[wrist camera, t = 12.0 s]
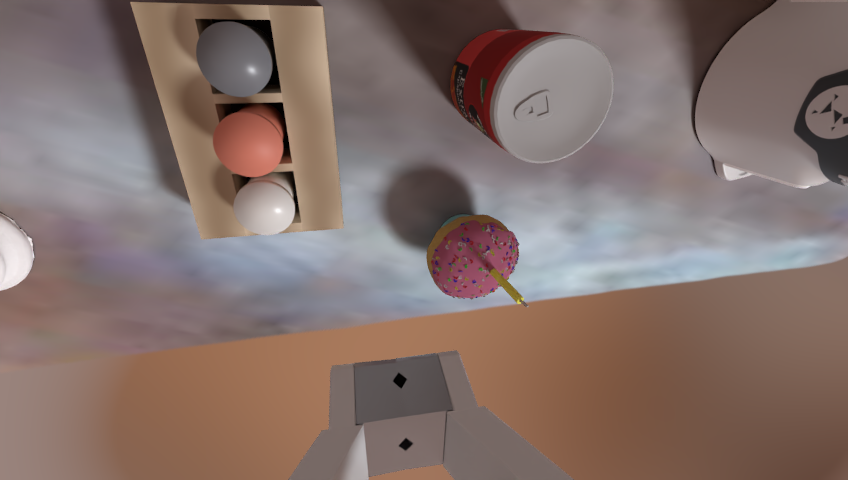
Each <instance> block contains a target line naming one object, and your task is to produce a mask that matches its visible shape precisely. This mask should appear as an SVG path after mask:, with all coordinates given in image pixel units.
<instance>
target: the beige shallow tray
mask: <svg viewBox="0 0 848 480" xmlns="http://www.w3.org/2000/svg"><path fill="white" fill-rule="evenodd" d="M130 3H131V7H132V10H133V13H134V17H135V20H136V23H137V27H138V30H139V33H140V37H141V40H142V43H143V47H144V50H145V53H146V56H147V60H148V63H149V66H150V70H151V73H152V76H153V80H154V83H155V86H156V90H157V93H158V96H159V100H160V103H161V106H162V110H163V113H164V116H165V120H166V123H167V126H168V130H169V133H170V136H171V140H172V143H173V146H174V150H175V153H176V156H177V160H178V163H179V166H180V170H181V173H182V176H183V180H184V183H185V186H186V190H187V193H188V196H189V200H190V203H191V206H192V210H193V213H194V216H195V220H196V223H197V226H198V230H199V233H200V236H201V239H212V238H225V237H238V236H251V235H261V234H256V233H253V232H251V231H249V230H247V229H246V228H245V227H243V226H242V225H241V224H240V223H239V221H238V220H237V218H236V216H235V213H234V209H233V205H234V200H235V197H236V195H237V194H238V192H239V190H240V189H241V188H242V187H243V186H244V185H246V184H248V183H247V179H246V176H242V175H239V174H236V173H234V172H233V171H231V170H229V169H228V168H227V167H225V166H224V165H223V164H222V162H221V161H220V160H219V158H218V157H217V155H216V153H215V150H214V147H213V134H214V131H215V129H216V127H217V125H218V124H219V123H220V122H221V121H222V120H223V119H224V118H225V117H226V116H228V115H230V114H232V110H231V105H230V103H271V102H283V106H284V113H285V119H286V126H287V132H288V139H289V145H290V148H286V149H283V154H282V157H281V160H280V162H279V164H278V165H277V167H276V168H275V169H274V170H273V171H271V172H284V171H294V178H295V184H296V191H297V197H298V203H295V214H294V218H293V221H292V223H291V224H290V225H289V227H287V228H286V229H285V230H284V231H282V232H280V233H289V232H302V231H315V230H328V229H341V228H343V211H342V199H341V189H340V178H339V167H338V157H337V146H336V136H335V125H334V114H333V104H332V93H331V82H330V72H329V61H328V50H327V40H326V29H325V18H324V8H323V7H322V6H280V5H237V4H193V3H150V2H130ZM212 19H244V20H270V21H271V28H272V34H273V41H274V47H275V54H276V60H277V67H278V73H279V80H280V85H266V86H265V87H264V88H263V89H262V90H261V91H259V92H258V93H256V94H254V95H251V96H247V97H235V96H231V95H227V94H225V93H223V92H221V91H219V90H218V89H216V88H215V87H214V86H212V85H211V84H210V83H209V82H208V81H207V79H206V78H205V77H204V75H203V74H202V72H201V70H200V68H199V65H198V62H197V57H196V46H197V42H198V39H199V37H200V35H201V34H202V32H203V31H204V30H205V29H206V28H208V27H209V26H211V25H212V24H213V22H212Z"/></svg>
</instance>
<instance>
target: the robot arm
mask: <svg viewBox="0 0 848 480" xmlns="http://www.w3.org/2000/svg"><path fill="white" fill-rule="evenodd" d="M695 127H696V132H697V136H698V138H699V141H700V143H701V144H702V146H703V147H704V148H705V149H706V150H707V151H708V152H709V153H710V155H711V156H712V157H713V159H714V163H715V168H716V172H717V175H718V176H719V177H720V178H722V179H726V180H735V179H739V178H743V177H746V176H750V175H757V176H760V177H764V178H767V179H770V180H773V181H777V182H780V183H783V184H787V185H790V186H793V187H797V188H808V187H809V186H815V185H820V184H823V183H825V182H827V181H832V182H835V183H838V184H841V185H844V186H847V187H848V0H777V1H776V2H775V3H774V4H773V5H772V6H771V7H769V8H768V9H766V10H765V11H764V12H762V13H761V14H759V15H758V16H756V17H755V18H753V19H752V20H750V21H749V22H748V23H747V24H745V25H744V26H743V27H742V28H741V29H740V30H739V31H738V32H737V33H736V34H735V35H734V36H733V37H732V38H731V39H730V40H729V41H728V42H727V44H726V45H725V46H724V47H723V49H722V50H721V51H720V53H719V54H718V56H717V57H716V59H715V60H714V62H713V63H712V65H711V67H710V69H709V71H708V73H707V75H706V77H705V79H704V81H703V84H702V86H701V89H700V92H699V96H698V99H697V104H696V111H695ZM329 408H330V409H329V429H328V430H323V431H321V433H320V434H319V436H318V437H317V439H316V440H315V441H314V443H313V444H312V446H311V447H310V449H309V450H308V452H307V453H306V455H305V456H304V457H303V459H302V460H301V462H300V463H299V465H298V466H297V468H296V469H295V471H294V472H293V474H292V475H291V477H290V478H289V479H288V480H369V478H368V477H371V476H376V475H381V474H385V473H390V472H395V471H400V470H405V469H412V468H419V467H426V466H433V465H440V464H443V466H444V467H445V469H446V470H447V471H448V472H449V473H450V475H451V476H452V477H453V478H454V479H455V480H574V479H572V478H571V477H570V476H569V475H568V474H567V473H565V472H564V471H563V470H562V469H561V468H559V467H558V466H557V465H556V464H554V463H553V462H552V461H551V460H549V459H548V458H547V457H546V456H544V455H543V454H542V453H541V452H540V451H538V450H537V449H536V448H535V447H534V446H532V445H531V444H530V443H529V442H528V441H526V440H525V439H524V438H523V437H521V436H520V435H519V434H518V433H516V432H515V431H514V430H513V429H512V428H510V427H509V426H508V425H507V424H506V423H504V422H503V421H502V420H501V419H499V418H498V417H497V416H496V415H495V414H493V413H492V412H491V411H489V410H488V409H487V408H486V407H485V406H482V407H478V405H477V402H476V399H475V396H474V394H473V391H472V388H471V385H470V382H469V379H468V377H467V374H466V371H465V368H464V365H463V363H462V360H461V357H460V354H459V353H458V352H457V351H449V352H441V353H437V354H436V353H433V354H426V355H418V356H411V357H404V358H396V359H391V360H381V361H371V362H362V363H354V364H344V365H335V366H332V368H331V373H330V406H329Z"/></svg>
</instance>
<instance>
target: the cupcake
mask: <svg viewBox="0 0 848 480" xmlns="http://www.w3.org/2000/svg"><path fill="white" fill-rule="evenodd" d="M518 244H519V243H518V242H517V239H516V237H515V235H514V233H513V232H511V231H509V230H508V229H507V228H506V227H505V226H504V225H503V224H502V223H501V222H500V221H498V220H496V219H494V218H492V217H490V216H488V215H468V214H460V215H456V216H453V217H451V218H449V219H448V220H447V221H446V222H445V223H444V224H443V225H442V226H441V228H440V229H439V230H438V231H437V232H436V234H435V236H434V238H433V240H432V242H431V243H430V245H429V247H428V249H427V265H428V269H429V271H430V274H431V276H432V278H433V280H434V282H435V284H436V285H437V286H438V287H439V289H440V290H441V291H442V292H444V293H445V294H447V295H450V296H452V297H454V296H455V297H458V298H459V299H460V298H463V299H465V298H470V299H473V298H475V297H476V298H477V297H480V296H483V297H485V296H486V295H488V294H489V293H491V292H494V291H495V290H496V289H498V287H499V286H502V287H503V288H504V289H505V290H506V292H507V293H508V294H509V295H510V296H511V297H512V298H513V299H514V300H515V301H516V302H517V303H518V304H520V303H522V304H523V305H524V306H526V307H529V306H528V305H527V304H526V303H525V302H524V301H523V300H524V298H523V297H522V296H521V295H520V294H519V293H518V292H517V291H516V290H515V289H514V288H513V286H512V285H511V284H510V283H509V282H508V281H507V280H508V279H509V275H510V274H511V273H513V272H514V270H515V269H514V268H515V264H517V263H518V262H517V261H516V260H518V257H519V255H518V254H519V252H518V251H519V250H518V246H519V245H518ZM516 262H517V263H516ZM512 271H513V272H512ZM484 295H485V296H484ZM455 297H454V298H455Z"/></svg>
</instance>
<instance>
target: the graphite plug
mask: <svg viewBox="0 0 848 480" xmlns="http://www.w3.org/2000/svg"><path fill="white" fill-rule="evenodd" d="M196 57H197V62H198V65H199V68H200V70H201V72H202V74H203V75H204V77H205V78H206V79H207V81H208V82H209V83H210V84H211V85H212V86H214V87H215V88H216V89H218V90H219V91H221V92H223V93H225V94H227V95H231V96H235V97H247V96H251V95H254V94H256V93H258V92H259V91H261V90H262V89H263V88H264V87H265V86H266V84H267V83H268V82H269V79H270V77H271V74H272V71H273V70H274V68H275V65H276V61H277V60H276V54H275V47H274V44H273V42H272V41H271V39H270V38H269V37H268V36H267V35H266V34H265V33H264V32H263V31H261V30H260V29H258V28H256V27H253V26H248V25H243V24H240V23H237V22H230V21H228V22H218V23H215V24H212V25H211V26H209V27H208V28H206V29H205V30H204V31H203V32H202V34H201V35H200V37H199V39H198V42H197V46H196Z"/></svg>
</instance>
